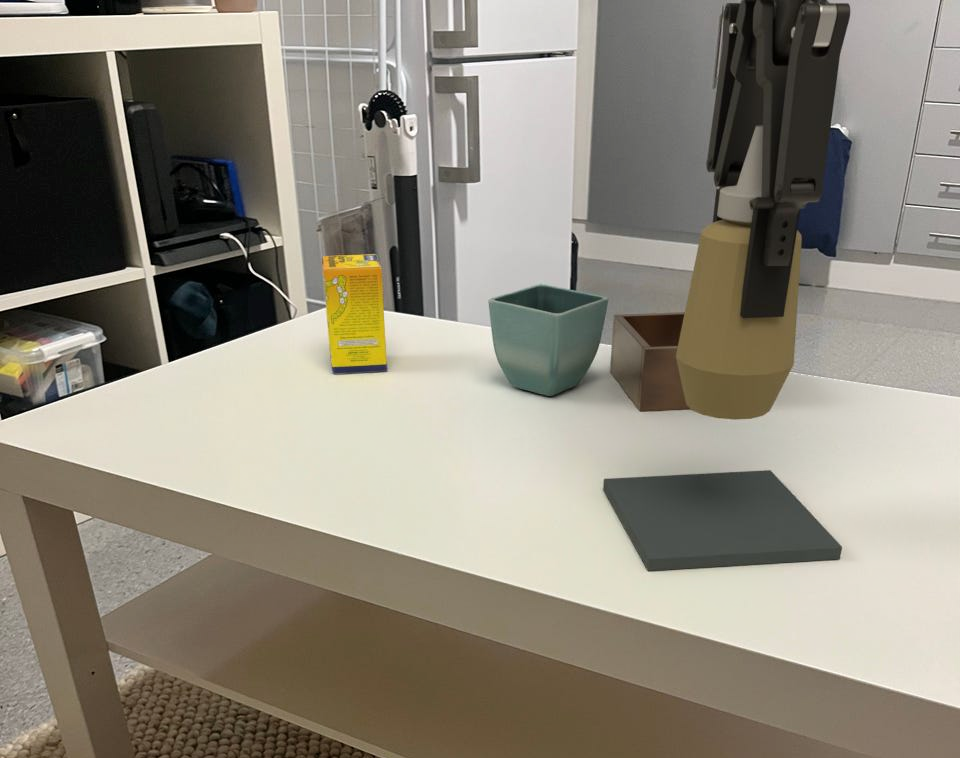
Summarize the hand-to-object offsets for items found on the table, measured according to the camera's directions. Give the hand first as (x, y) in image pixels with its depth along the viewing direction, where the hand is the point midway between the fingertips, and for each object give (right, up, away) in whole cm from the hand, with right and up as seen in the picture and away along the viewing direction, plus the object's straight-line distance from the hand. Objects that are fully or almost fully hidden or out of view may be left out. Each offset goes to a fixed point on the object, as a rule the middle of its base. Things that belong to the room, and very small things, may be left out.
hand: (742, 301), depth 68 cm
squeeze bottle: (0, -6, +4) cm, 8 cm away
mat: (0, -14, +9) cm, 16 cm away
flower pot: (-11, +3, +36) cm, 38 cm away
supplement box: (-31, +7, +42) cm, 53 cm away
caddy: (+3, +3, +36) cm, 36 cm away
